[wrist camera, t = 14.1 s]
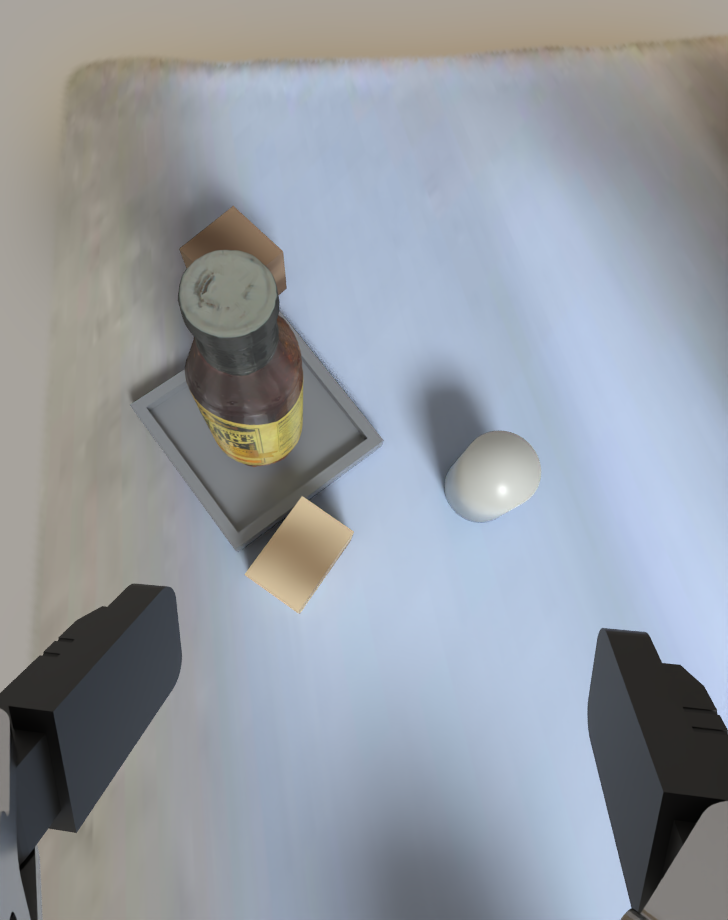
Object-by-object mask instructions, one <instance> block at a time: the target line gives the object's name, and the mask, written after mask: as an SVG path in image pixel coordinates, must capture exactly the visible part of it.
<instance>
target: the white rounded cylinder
mask: <svg viewBox="0 0 728 920" xmlns="http://www.w3.org/2000/svg"><path fill="white" fill-rule="evenodd" d="M540 478H541V466H540V462H539V458H538V456H537V454H536V452H535V450H534V449H533V448H532V446H531V445H530V444H529V443H528V442H527V441H526V440H524V439H523V438H522V437H520V436H518V435H516V434H514V433H511V432H507V431H492V432H488V433H485V434H483V435H481V436H479V437H478V438H476V439H475V440H474V441H473V442H472V443H471V444H470V445H469V447H468V448H467V449H466V450H465V451H464V453H463V454H462V455H461V456H460V457H459V458H458V460H457V461H456V462H455V463H454V464H453V465H452V467H451V468H450V469H449V471H448V473H447V475H446V479H445V485H444V489H445V495H446V498H447V501H448V503H449V505H450V506H451V508H452V509H453V510H454V511H455V512H456V513H457V514H458V515H459V516H461V517H462V518H464V519H466V520H469V521H472V522H477V523H484V522H489V521H492V520H495V519H497V518H498V517H500V516H502V515H504V514H505V513H507V512H509V511H510V510H512V509H514V508H516V507H517V506H519V505H521V504H522V503H524V502H526V501H527V500H528V499H529V498H530V497H532V495H533V494H534V493H535V491H536V490H537V488H538V485H539V482H540Z"/></svg>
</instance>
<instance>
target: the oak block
mask: <svg viewBox="0 0 728 920" xmlns="http://www.w3.org/2000/svg"><path fill="white" fill-rule="evenodd" d="M353 533H354V532H353V531H352V530H350V529H349V528H348V527H346V526H345V525H343V524H342V523H340V522H339V521H337V520H336V519H335V518H333V517H332V516H330V515H329V514H327V513H326V512H325V511H323V510H322V509H320V508H319V507H317V506H316V505H314V504H313V503H312V502H310V501H309V500H307V499H306V498H304V497H303V496H302V497H301V498H300V500H299V501H298V502H297V504H296V505H295V506H294V508H293V509H292V511H291V512H290V513H289V515H288V516H287V517H286V519H285V520H284V521H283V523H282V524H281V526H280V527H279V528H278V530H277V531H276V532H275V534H274V535H273V536H272V538H271V539H270V540H269V542H268V543H267V545H266V546H265V547H264V549H263V550H262V551H261V553H260V554H259V555H258V557H257V558H256V560H255V561H254V562H253V564H252V565H251V566H250V568H249V569H248V570H247V572H246V573H245V575H246V576H247V577H248V578H250V579H251V580H253V581H254V582H255V583H257V584H258V585H259V586H261V587H262V588H264V589H265V590H266V591H268V592H269V593H271V594H272V595H273V596H275V597H276V598H278V599H279V600H280V601H282V602H283V603H285V604H286V605H287V606H289V607H290V608H292V609H293V610H294V611H296V612H297V613H299V614H300V613H301V611H302V610H303V609H304V607H305V606H306V604H307V603H308V601H309V600H310V598H311V597H312V596H313V594H314V593H315V591H316V590H317V588H318V587H319V585H320V584H321V583H322V581H323V580H324V578H325V577H326V575H327V574H328V573H329V571H330V570H331V568H332V567H333V565H334V564H335V562H336V561H337V560H338V558H339V557H340V555H341V554H342V552H343V551H344V549H345V548H346V547H347V545H348V544H349V542H350V541H351V538H352V536H353Z"/></svg>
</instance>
